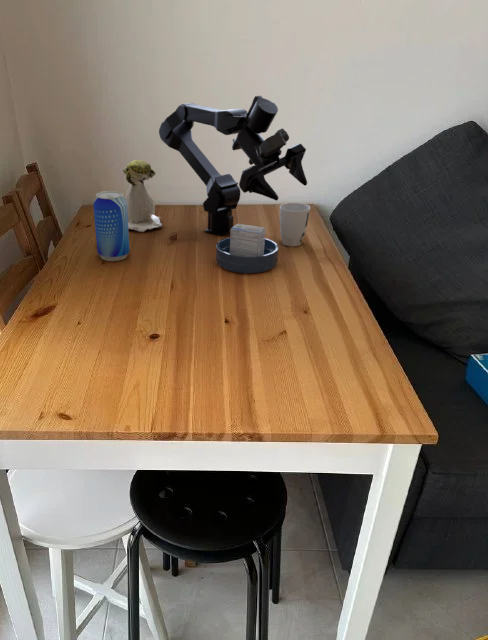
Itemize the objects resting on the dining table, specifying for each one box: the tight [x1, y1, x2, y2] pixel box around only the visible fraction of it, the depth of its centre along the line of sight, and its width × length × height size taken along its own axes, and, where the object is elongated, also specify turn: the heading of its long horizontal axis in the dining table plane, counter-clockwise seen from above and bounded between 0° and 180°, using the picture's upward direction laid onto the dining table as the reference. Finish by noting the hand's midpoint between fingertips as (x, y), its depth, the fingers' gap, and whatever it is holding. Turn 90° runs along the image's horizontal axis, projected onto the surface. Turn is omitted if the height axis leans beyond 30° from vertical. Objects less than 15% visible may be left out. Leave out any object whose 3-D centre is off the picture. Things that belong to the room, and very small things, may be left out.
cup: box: [279, 202, 311, 247], centre depth 161 cm, size 8×8×10 cm
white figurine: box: [122, 159, 163, 233], centre depth 172 cm, size 12×13×18 cm
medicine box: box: [229, 223, 267, 256], centre depth 149 cm, size 8×4×9 cm, turn 65°
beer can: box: [92, 190, 131, 262], centre depth 151 cm, size 8×8×16 cm
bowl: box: [215, 236, 280, 274], centre depth 150 cm, size 16×16×4 cm
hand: (292, 191), depth 147 cm, fingers open, 9 cm apart
